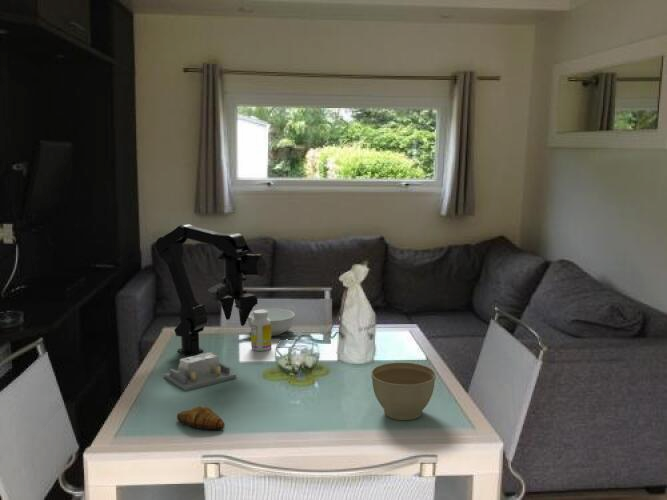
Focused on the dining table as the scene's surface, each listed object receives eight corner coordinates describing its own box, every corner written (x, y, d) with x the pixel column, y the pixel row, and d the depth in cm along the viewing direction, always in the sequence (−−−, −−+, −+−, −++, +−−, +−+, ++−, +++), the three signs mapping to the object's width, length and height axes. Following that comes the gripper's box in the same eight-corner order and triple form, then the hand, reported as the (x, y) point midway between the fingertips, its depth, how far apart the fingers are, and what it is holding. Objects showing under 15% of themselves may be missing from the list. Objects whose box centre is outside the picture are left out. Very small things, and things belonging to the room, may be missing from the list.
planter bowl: (370, 401, 174) (370, 361, 173) (430, 401, 174) (431, 362, 172) (371, 426, 158) (372, 383, 157) (438, 427, 158) (439, 384, 156)
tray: (164, 376, 192) (163, 365, 192) (212, 365, 202) (212, 354, 202) (185, 390, 182) (185, 378, 181) (235, 377, 192) (235, 366, 191)
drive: (180, 375, 191) (179, 359, 190) (210, 368, 197) (210, 352, 196) (188, 380, 187) (187, 363, 186) (219, 372, 193) (218, 356, 192)
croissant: (231, 425, 160) (231, 406, 159) (215, 436, 154) (215, 416, 153) (187, 415, 165) (186, 396, 164) (169, 426, 159) (168, 406, 158)
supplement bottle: (273, 345, 222) (272, 309, 220) (269, 352, 216) (268, 314, 214) (253, 345, 223) (253, 308, 221) (249, 351, 216) (248, 313, 214)
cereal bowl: (242, 338, 231) (241, 318, 230) (255, 325, 247) (254, 307, 246) (288, 340, 228) (288, 321, 227) (299, 327, 244) (299, 309, 243)
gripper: (196, 272, 206) (198, 320, 209) (225, 282, 192) (227, 333, 194) (227, 268, 213) (229, 315, 216) (258, 277, 199) (259, 327, 201)
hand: (235, 322), depth 207 cm, fingers open, 9 cm apart
